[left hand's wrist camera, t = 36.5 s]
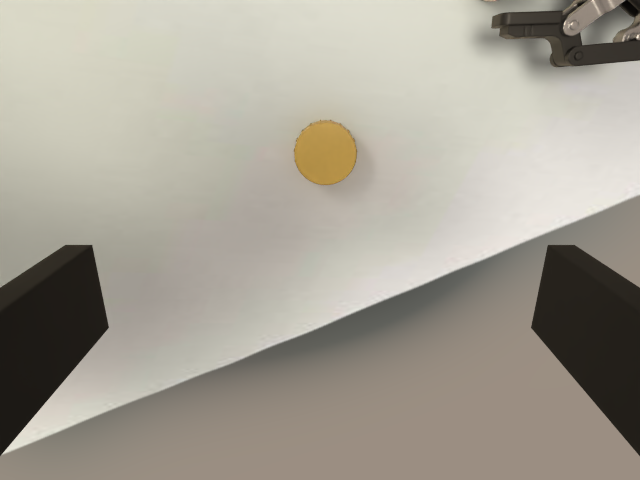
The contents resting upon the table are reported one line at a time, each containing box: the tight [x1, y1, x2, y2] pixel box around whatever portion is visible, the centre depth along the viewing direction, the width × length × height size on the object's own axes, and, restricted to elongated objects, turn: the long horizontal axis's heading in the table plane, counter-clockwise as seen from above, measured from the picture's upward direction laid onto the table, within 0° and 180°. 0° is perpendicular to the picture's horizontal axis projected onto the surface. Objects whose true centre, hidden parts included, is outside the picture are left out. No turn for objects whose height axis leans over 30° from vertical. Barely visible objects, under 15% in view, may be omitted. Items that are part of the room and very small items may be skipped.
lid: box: [294, 120, 357, 185], centre depth 36 cm, size 5×5×2 cm
